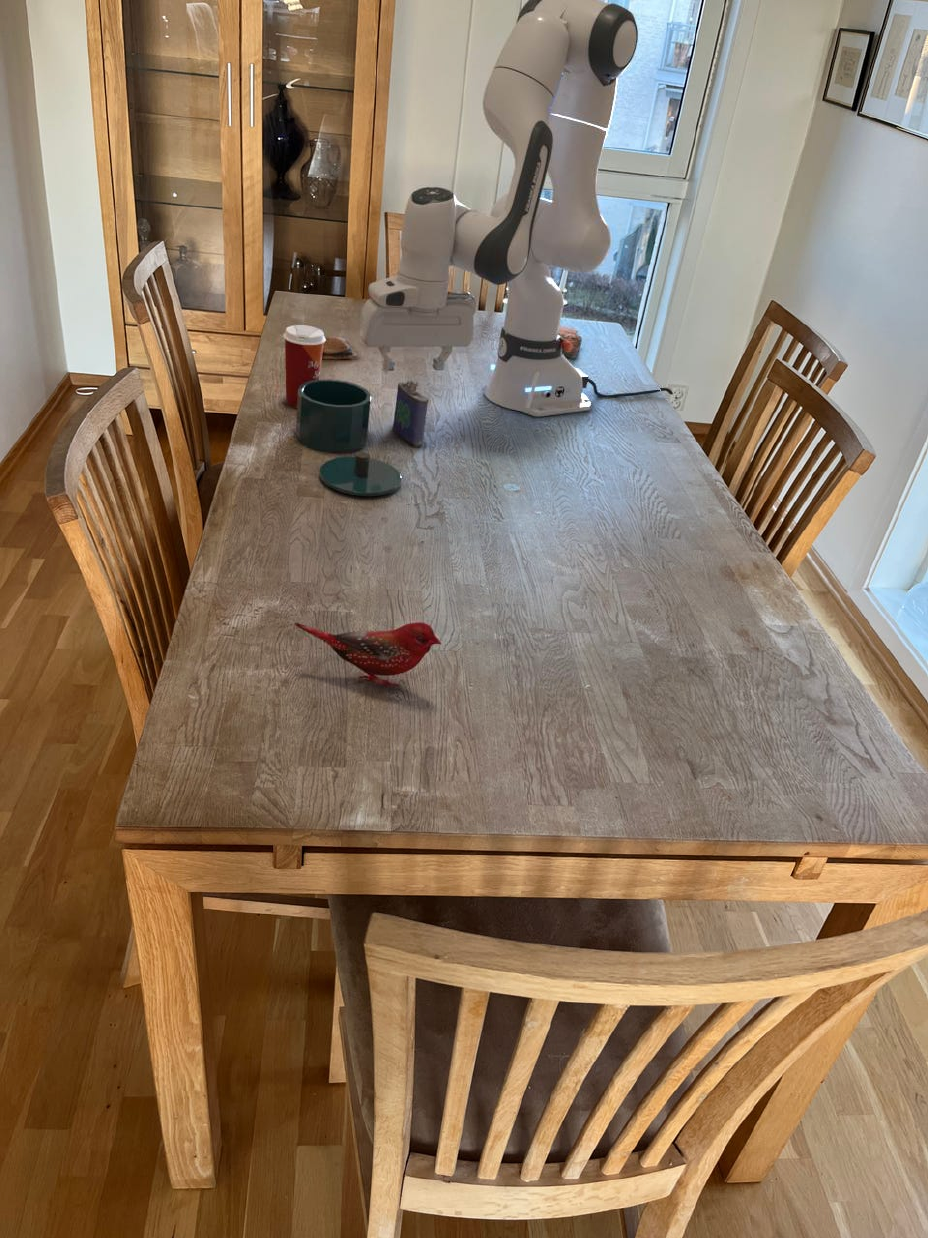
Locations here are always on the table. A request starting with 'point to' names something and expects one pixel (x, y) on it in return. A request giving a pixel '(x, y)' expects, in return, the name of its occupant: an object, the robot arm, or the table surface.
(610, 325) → the table surface
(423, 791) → the table surface
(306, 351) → the paper cup
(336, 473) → the pot lid
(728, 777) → the table surface
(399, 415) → the flask
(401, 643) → the decorative bird figurine
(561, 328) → the pottery shard
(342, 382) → the pot
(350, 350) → the bread roll
